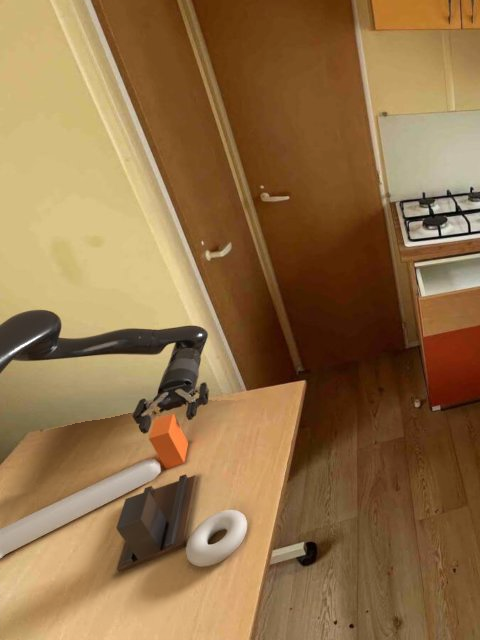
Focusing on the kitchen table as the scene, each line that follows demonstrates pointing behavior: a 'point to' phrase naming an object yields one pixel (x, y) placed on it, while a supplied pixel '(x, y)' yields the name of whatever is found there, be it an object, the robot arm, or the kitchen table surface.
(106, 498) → the tube
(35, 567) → the kitchen table surface
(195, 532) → the donut
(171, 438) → the orange rectangular block
